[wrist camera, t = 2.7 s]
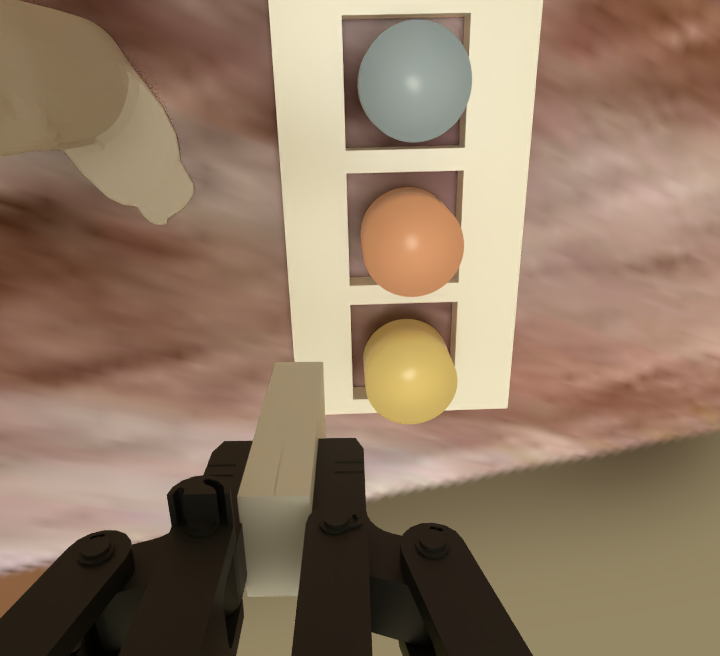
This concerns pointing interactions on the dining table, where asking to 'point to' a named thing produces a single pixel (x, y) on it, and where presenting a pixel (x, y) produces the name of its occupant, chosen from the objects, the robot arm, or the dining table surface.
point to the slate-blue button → (415, 80)
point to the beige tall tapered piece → (87, 109)
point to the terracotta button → (411, 242)
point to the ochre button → (408, 372)
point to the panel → (470, 158)
